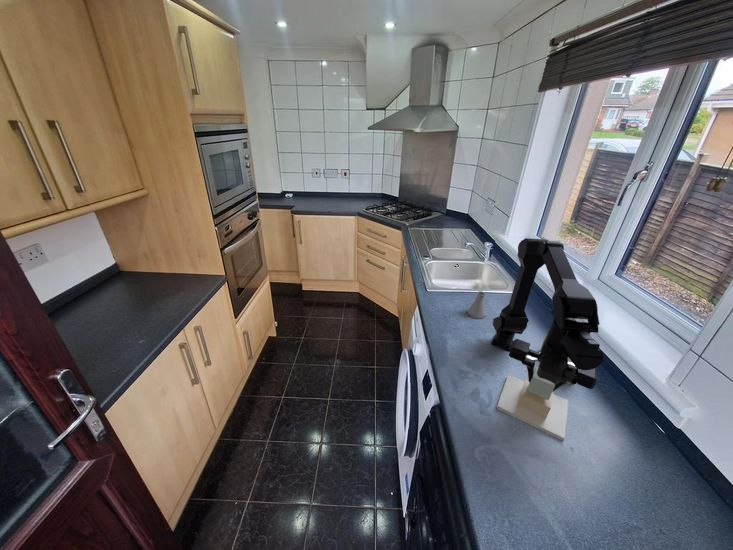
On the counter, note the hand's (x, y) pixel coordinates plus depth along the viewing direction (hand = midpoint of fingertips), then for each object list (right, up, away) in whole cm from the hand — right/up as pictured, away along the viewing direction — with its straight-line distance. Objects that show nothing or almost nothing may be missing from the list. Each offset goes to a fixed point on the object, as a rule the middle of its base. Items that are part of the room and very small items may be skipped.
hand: (540, 385), depth 79 cm
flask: (-1, +13, +43) cm, 45 cm away
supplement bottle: (+16, +2, +23) cm, 28 cm away
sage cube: (0, -1, 0) cm, 1 cm away
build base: (0, -7, +3) cm, 8 cm away
